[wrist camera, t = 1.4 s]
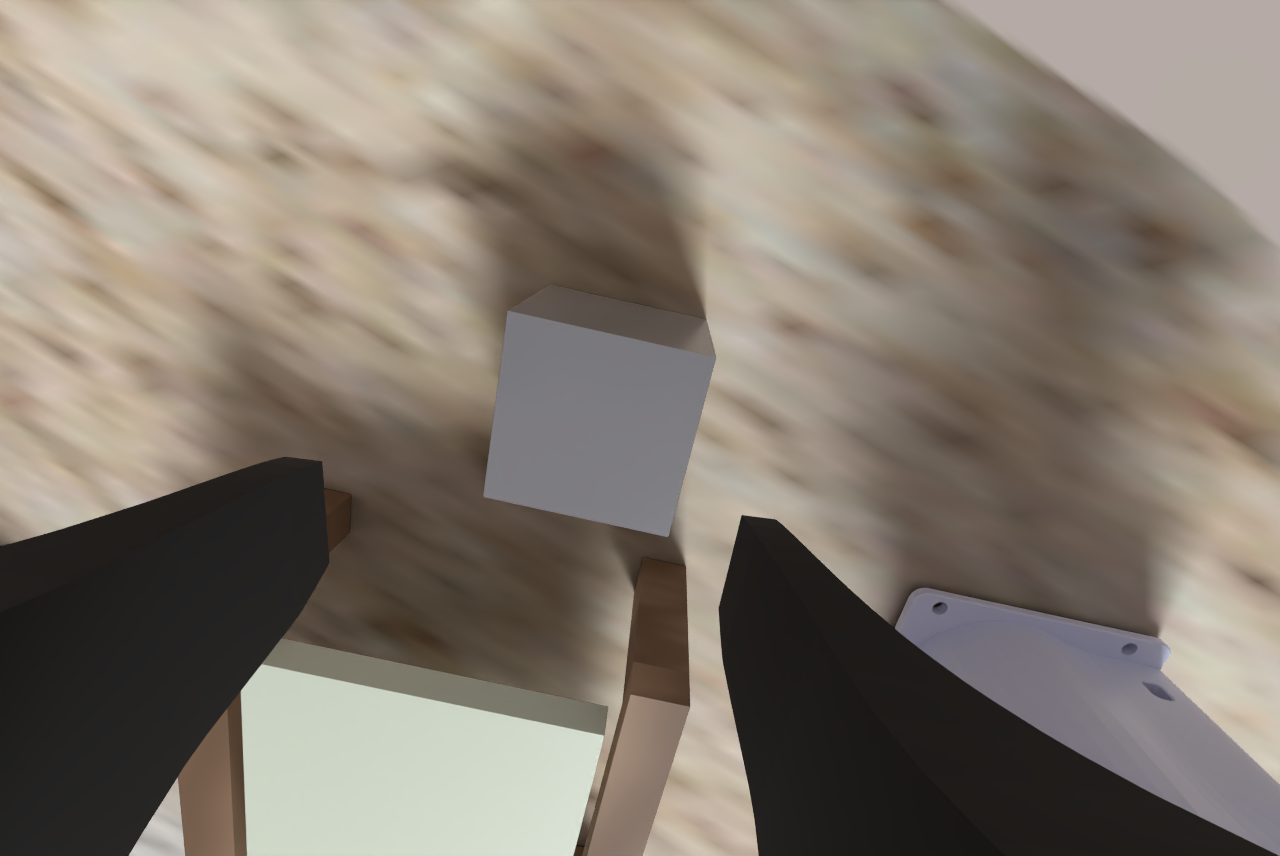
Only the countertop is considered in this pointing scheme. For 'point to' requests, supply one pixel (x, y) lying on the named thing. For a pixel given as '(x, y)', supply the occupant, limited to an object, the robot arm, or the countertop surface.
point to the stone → (597, 408)
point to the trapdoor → (409, 760)
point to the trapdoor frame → (632, 764)
